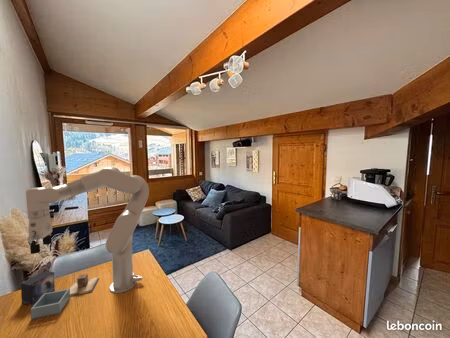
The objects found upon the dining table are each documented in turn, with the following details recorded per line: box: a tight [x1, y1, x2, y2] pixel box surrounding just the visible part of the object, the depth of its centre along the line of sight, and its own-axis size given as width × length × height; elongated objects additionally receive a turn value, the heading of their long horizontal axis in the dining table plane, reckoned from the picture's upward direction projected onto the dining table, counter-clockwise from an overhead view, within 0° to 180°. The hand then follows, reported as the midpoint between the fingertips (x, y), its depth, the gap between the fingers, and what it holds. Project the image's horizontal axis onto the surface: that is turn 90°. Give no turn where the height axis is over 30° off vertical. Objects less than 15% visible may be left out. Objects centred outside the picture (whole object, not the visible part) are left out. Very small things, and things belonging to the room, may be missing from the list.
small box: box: [20, 270, 56, 306], centre depth 94 cm, size 11×6×10 cm, turn 168°
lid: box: [69, 273, 99, 297], centre depth 101 cm, size 11×11×6 cm
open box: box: [30, 288, 71, 321], centre depth 87 cm, size 10×10×5 cm
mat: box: [70, 277, 100, 298], centre depth 101 cm, size 12×12×1 cm
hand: (41, 248), depth 92 cm, fingers open, 9 cm apart
